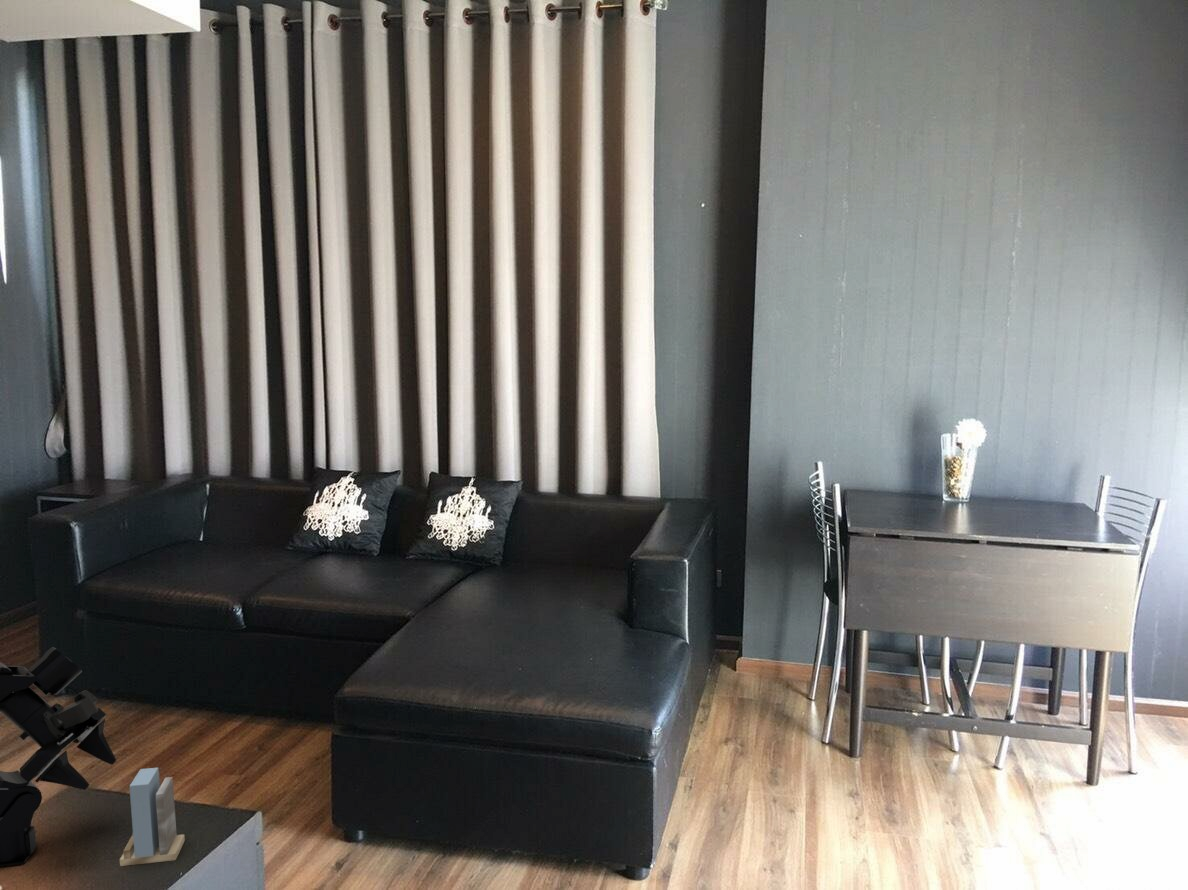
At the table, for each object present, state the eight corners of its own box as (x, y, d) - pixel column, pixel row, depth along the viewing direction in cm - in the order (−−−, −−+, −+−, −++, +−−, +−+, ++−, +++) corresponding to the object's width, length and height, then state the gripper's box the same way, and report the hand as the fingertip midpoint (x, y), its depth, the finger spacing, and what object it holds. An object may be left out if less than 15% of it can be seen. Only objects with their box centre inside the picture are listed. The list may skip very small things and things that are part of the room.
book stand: (120, 866, 162) (114, 798, 161) (131, 846, 169) (126, 781, 167) (175, 860, 164) (171, 793, 163) (184, 840, 170) (180, 776, 169)
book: (134, 857, 163) (129, 786, 161) (145, 838, 169) (140, 769, 168) (153, 855, 163) (148, 784, 162) (163, 836, 170) (158, 767, 168)
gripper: (31, 706, 156) (103, 769, 157) (91, 665, 174) (155, 721, 176) (-12, 751, 157) (60, 813, 158) (52, 706, 175) (116, 762, 177)
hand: (101, 774), depth 167 cm, fingers open, 9 cm apart
